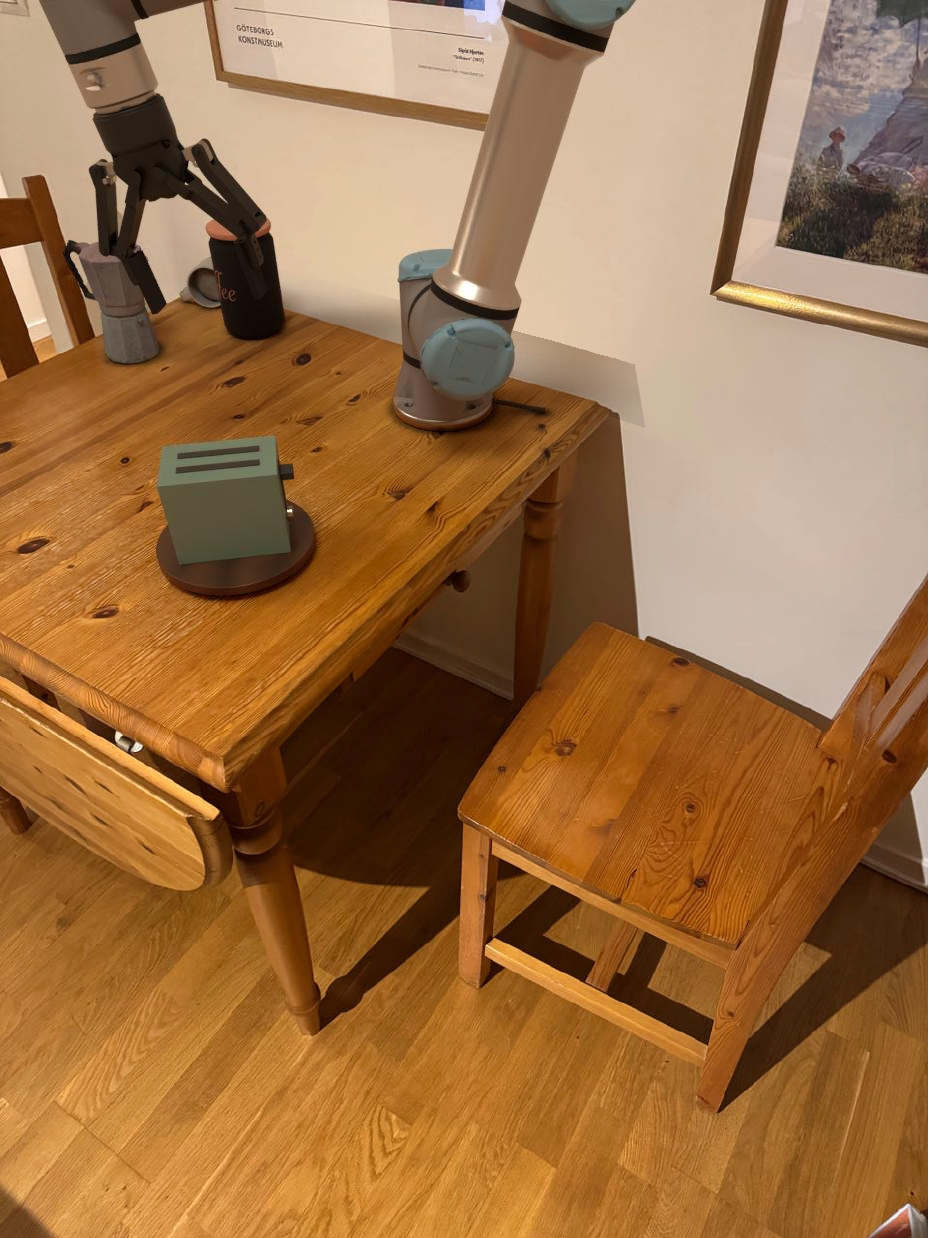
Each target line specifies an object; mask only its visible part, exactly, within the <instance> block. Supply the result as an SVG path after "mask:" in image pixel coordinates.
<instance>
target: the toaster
mask: <svg viewBox="0 0 928 1238" xmlns="http://www.w3.org/2000/svg"><path fill="white" fill-rule="evenodd" d="M278 447H279V446H278V442H277V437H276V435H265V436H256V437H254V436H253V437H245V438H235V439H225V440H223V439H222V440H212V441H204V442H194V443H193V442H192V443H183V444H173V445H172V444H171V445H163V446H162V447H161V453H160V460H159V461H160V462H159V469H158V474H157V482H156V489H157V492H158V496H159V499H160V503H161V506H162V509H163V510H162V511H163V513H164V516H165V520H166V523H167V524H166V526H165V527H164V528H163V530H162V531H161V532H160V534H159V536H158V538H157V540H156V545H155V556H156V559H157V563H158V566H159V568H160V570H161V572H162V573H163V575H164V576H165V577H166V579H168V580H169V581H170V582H171V583H173V584H174V585H176V586H178V587H179V588H182V589H184V590H186V591H190V592H192V593H196V594H201V595H206V596H207V595H208V596H209V595H210V596H235V595H243V594H248V593H249V594H250V593H253V592H257V591H260V590H264V589H266V588H270V587H272V586H274V585H276V584H278V583H281V582H283V581H285V580H286V579H288V578H289V577H291V576H293V574H295V573H296V572H298V570H300V569H301V568H302V567H303V566H304V565H305V564H306V563H307V561H308V560H309V558H310V557H311V555H312V553H313V551H314V549H315V545H316V532H315V525H314V522H313V520H312V518H311V516H310V515H309V514H308V512H307V511H306V510H304V508H302V507H301V506H300V505H298V504H297V503H295V502H293V501H291V500H289V499H287V494H286V489H285V482H284V481H291V480H295V469H294V464H293V463H282V464H281V460H280V454H279V448H278Z"/></svg>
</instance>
